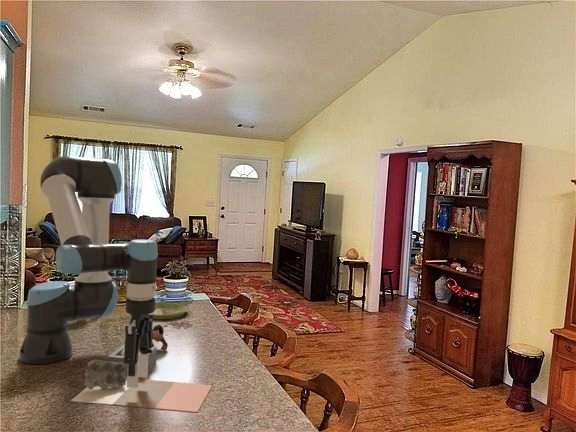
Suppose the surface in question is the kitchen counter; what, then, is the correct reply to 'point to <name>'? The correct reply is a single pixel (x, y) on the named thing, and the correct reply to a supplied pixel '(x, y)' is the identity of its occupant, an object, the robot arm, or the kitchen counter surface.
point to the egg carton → (105, 374)
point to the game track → (150, 395)
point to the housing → (151, 361)
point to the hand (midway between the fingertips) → (137, 381)
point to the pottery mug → (159, 336)
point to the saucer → (168, 305)
